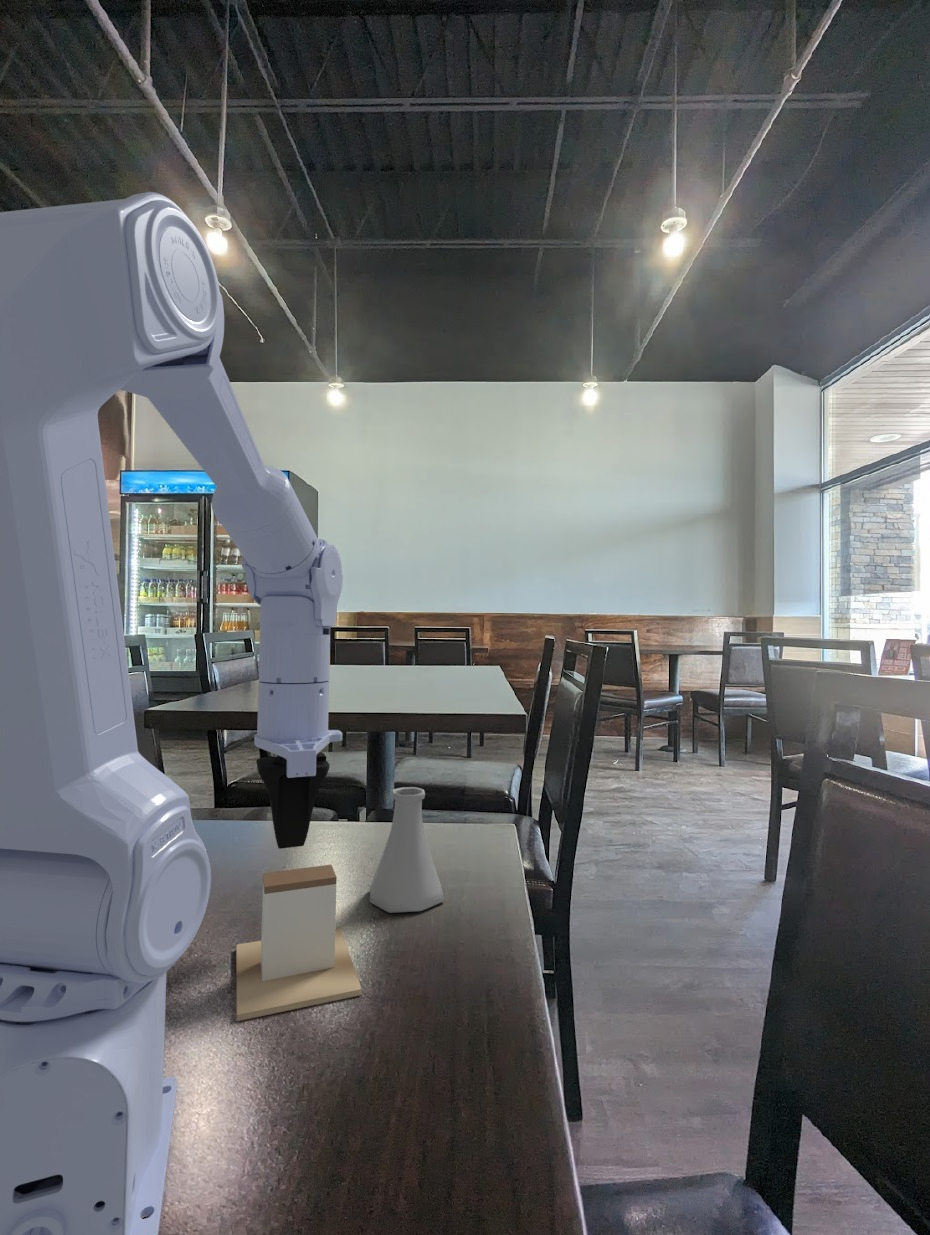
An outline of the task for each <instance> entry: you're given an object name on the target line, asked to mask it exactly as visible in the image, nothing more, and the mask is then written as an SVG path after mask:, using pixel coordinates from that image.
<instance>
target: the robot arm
mask: <svg viewBox="0 0 930 1235" xmlns="http://www.w3.org/2000/svg"><path fill="white" fill-rule="evenodd" d="M200 233H201V232H200V231H199V230H198V228H197V227H196V225H194V223H193V222H192V221H191V220H190V219H189V217H188V216H187V215H186V213H185V212H184V211H183V210H182V209H181V208H180V207H179V205H177V204H176V202H174V201H173V200H171V198H168V197H167V196H165V195H163V194H161V193H158V192H156V191H155V192H153V191H146V192H141V193H136V194H135V193H134V194H132V195H130V196H128V197H126V198H121V199H112V200H104V201H103V200H102V201H94V202H93V201H92V202H82V203H75V204H74V203H73V204H67V205H66V204H65V205H64V204H63V205H57V206H56V205H55V206H49V207H48V206H47V207H37V208H28V209H20V210H10V211H8V210H7V211H1V212H0V1235H159V1232H160V1225H161V1215H162V1208H163V1202H164V1201H163V1200H164V1191H165V1184H166V1177H167V1168H168V1162H169V1160H168V1159H169V1153H170V1146H171V1145H170V1144H171V1138H172V1128H173V1123H174V1115H175V1107H176V1106H175V1105H176V1098H177V1092H178V1079H177V1078H176V1076H166V1077H164V1065H165V1064H164V1063H165V1032H166V1003H167V1000H166V998H167V997H166V996H167V973H168V971H169V970H170V969H171V968H172V967H173V966H174V965H175V964H176V963H177V962H178V960H179V959H180V958H181V957H182V955H183V954H185V952H186V951H187V949H188V948H189V947H190V945H191V944H192V942H193V941H194V939H195V938H196V937H195V936H197V933H198V931H199V929H200V928H201V925H202V922H203V919H204V917H205V914H206V911H207V907H208V903H209V898H210V893H211V886H212V885H211V883H212V870H211V863H210V859H209V855H208V853H207V848H206V846H205V844H204V841H203V840H202V839H201V836H199V834H198V833H197V831H196V829H195V828H196V827H195V826H194V823H193V819H192V813H191V803H190V797H189V794H188V793H187V792H186V791H185V790H184V789H183V788H181V787H180V786H179V785H178V784H177V783H176V782H174V781H173V780H172V779H171V778H169V777H168V775H166V774H164V773H163V772H162V771H160V770H159V769H158V768H157V767H156V766H154V765H153V764H152V763H150V762H149V761H148V760H147V759H146V758H145V757H144V756H143V755H142V754H141V753H140V752H139V748H138V740H137V739H138V738H137V732H136V725H135V724H136V722H135V714H134V705H133V698H132V689H131V684H130V683H131V682H130V673H129V666H128V657H127V656H128V655H127V651H126V650H127V647H126V641H125V632H124V625H123V616H122V614H123V613H122V608H121V607H122V606H121V600H120V592H119V591H120V590H119V583H118V574H117V567H116V565H117V564H116V558H115V557H116V556H115V551H114V543H113V542H114V541H113V534H112V533H113V532H112V525H111V517H110V510H109V509H110V508H109V500H108V492H107V485H106V483H107V482H106V474H105V469H104V468H105V466H104V460H103V452H102V451H103V450H102V444H101V443H102V442H101V435H100V433H101V432H100V427H99V417H98V416H99V415H98V414H99V410H100V408H101V407H102V406H103V405H104V404H106V402H108V400H110V399H111V398H112V397H113V396H114V395H115V394H117V393H118V392H119V390H120V391H124V392H127V393H130V394H134V395H137V396H142V397H144V398H147V399H148V401H149V402H150V403H151V404H152V405H153V407H154V409H156V410H157V412H158V413H159V415H160V416H161V417H162V419H163V420H164V421H165V422H166V424H167V425H168V426H169V428H170V429H171V431H173V433H174V434H175V435H176V437H177V438H178V439H179V441H180V442H181V443H182V444H183V445H184V447H185V448H186V450H187V451H188V452H189V453H190V455H191V456H192V458H194V460H195V461H196V462H197V463H198V466H200V467H201V469H202V471H203V472H204V473H205V474H206V475H207V476H208V477H207V478H209V479H210V481H211V482H212V483H213V484H214V485H215V487H216V488H215V489H214V491H213V495H212V496H211V510H212V513H213V514H214V516H215V518H216V519H217V520H218V522H219V523H220V525H221V526H222V528H223V529H224V530H225V532H226V533H227V535H228V537H229V538H230V539H231V541H232V542H233V544H234V545H235V546H236V548H237V549H238V551H239V553H240V554H241V558H240V562H241V568H242V570H244V573H245V574H244V575H245V582H246V586H247V590H248V593H249V596H250V598H251V599H252V600H253V601H254V602H255V603H257V605H259V608H260V611H259V643H258V644H259V648H258V649H259V650H258V654H259V655H258V686H257V687H258V688H257V689H258V691H257V694H258V695H257V701H258V702H257V726H256V728H257V730H256V731H257V732H256V733H255V734H254V743H253V744H254V746H255V747H256V748H259V749H261V750H264V751H266V752H269V753H271V754H274V755H276V756H265V757H259V758H257V759H256V769H257V772H258V774H259V776H260V778H261V780H262V782H263V785H264V786H265V789H266V791H267V795H268V799H269V803H270V810H271V817H272V823H273V824H272V826H273V830H274V835H275V836H274V837H275V840H276V846H277V848H278V849H280V850H281V849H287V848H288V849H290V848H297V847H304V846H305V843H306V840H307V837H308V833H309V829H310V823H311V818H312V815H313V814H312V813H313V811H314V810H313V809H314V805H315V803H316V799H317V796H318V793H319V791H320V788H321V787H322V784H323V782H324V781H325V780H324V779H325V778H326V777H327V775H328V774H329V770H330V763H329V761H328V760H327V756H326V755H325V753H324V752H322V750H324V748H326V747H327V746H328V745H329V744H330V743H335V742H342V741H343V732H342V731H341V730H339V729H329V709H330V708H329V706H330V705H329V704H330V699H329V698H330V696H329V695H330V664H331V662H330V661H331V660H330V659H331V628H332V627H335V625H336V622H337V617H338V615H337V614H338V604H339V600H340V597H341V593H342V589H343V588H342V587H343V580H344V579H343V578H344V575H343V567H342V560H341V557H340V553H339V552H338V550H337V548H336V547H335V546H334V545H332V544H329V543H328V542H327V541H326V540H325V539H323V538H318V536H317V534H316V532H315V530H314V528H313V525H312V524H311V522H310V521H309V520H310V519H309V518H308V516H307V514H306V512H305V510H304V508H303V506H302V504H301V502H300V500H299V497H298V496H297V494H296V492H295V490H294V487H293V486H292V484H291V482H290V480H289V478H288V476H287V475H286V474H285V473H284V471H282V470H280V469H278V468H277V467H274V466H269V465H265V464H264V462H263V459H262V456H261V454H260V453H259V450H258V447H257V444H256V442H255V439H254V438H253V435H252V432H251V430H250V428H249V426H248V423H247V420H246V419H245V416H244V414H243V411H242V409H241V406H240V404H239V401H238V399H237V396H236V394H235V391H234V389H233V387H232V385H231V382H230V379H229V377H228V374H227V373H226V369H225V367H224V365H223V363H222V360H221V352H222V348H223V343H224V336H225V335H224V334H225V310H224V300H223V295H222V293H221V292H220V291H221V290H220V284H219V279H218V274H217V271H216V268H215V264H214V262H213V259H212V256H211V253H210V251H209V248H208V247H207V244H206V242H205V241H204V238H203V237H202V235H201V234H200ZM144 1214H145V1215H147V1216H148V1217H146V1218H144V1219H142V1218H141V1216H144Z"/></svg>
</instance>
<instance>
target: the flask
mask: <svg viewBox="0 0 930 1235" xmlns="http://www.w3.org/2000/svg"><path fill="white" fill-rule="evenodd" d="M391 794H392V795H391V796H392V799H393V800H394V812H393V817H392V824H391V828H390V832H389V835H388V838H387V841H386V844H385V845H384V850H383V851H382V855H381V859H380V860H379V864H378V865H377V869H376V872H375V874H374V876H373V879H372V882H371V885H370V888H369V904H373V905H374V906H376V907H378V908H379V909H381V910H383V911H384V912H386V913H389V914H392V913H393V914H394V913H408V912H409V913H410V912H422V911H424V910H427V909H430V908H431V907H434V906H436V905H438V904H441V903H443V902H445V896H444V893H443V889H442V885H441V881H440V878H439V875H438V872H437V869H436V866H435V864H434V861H433V857H432V854H431V851H430V846H429V844H428V841H427V836H426V834H425V828H424V821H423V810H422V808H423V800H424V799H425V796H426V792H425V790H424V789H423V788H421V787H416V786H410V787H409V786H407V787H405V786H404V787H397V788H394V789H391Z"/></svg>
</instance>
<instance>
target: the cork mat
mask: <svg viewBox="0 0 930 1235" xmlns="http://www.w3.org/2000/svg"><path fill="white" fill-rule="evenodd" d="M235 951H236V954H235V956H236V962H235V963H236V968H235V969H236V971H235V972H236V1022H241V1021H245V1020H249V1019H255V1018H259V1017H264V1016H267V1015H268V1016H269V1015H274V1014H278V1013H282V1012H288V1011H293V1010H296V1009H302V1008H306V1007H311V1006H316V1005H321V1004H325V1003H330V1002H335V1001H340V1000H344V999H349V998H355V997H358V996H362V994H363V990H362V985H361V982H360V980H359V977H358V974H357V972H356V969H355V966H354V963H353V961H352V958H351V955H350V951H349V950H348V946H347V943H346V940H345V938H344V935H343V932H342V929H341V927H335V967H333V968H328V969H323V970H317V971H312V972H307V973H302V974H297V975H291V976H286V977H281V978H276V979H270V980H265V981H262V971H261V940H256V941H251V942H245V943H239V944H236V950H235Z"/></svg>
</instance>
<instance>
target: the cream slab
mask: <svg viewBox="0 0 930 1235" xmlns="http://www.w3.org/2000/svg"><path fill="white" fill-rule="evenodd" d="M261 900H262V904H261V936H260V937H261V940H260V941H261V971H262V981H265V980H270V979H276V978H281V977H286V976H291V975H297V974H302V973H307V972H312V971H317V970H323V969H328V968H333V967H335V928H336V924H337V923H336V917H337V912H336V911H337V875H336V872H335V871H334V867H333V865H332V864H325V865H316V866H310V867H301V868H294V869H293V868H292V869H285V870H280V871H279V870H277V871H270V872H263V873H262V898H261Z"/></svg>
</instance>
